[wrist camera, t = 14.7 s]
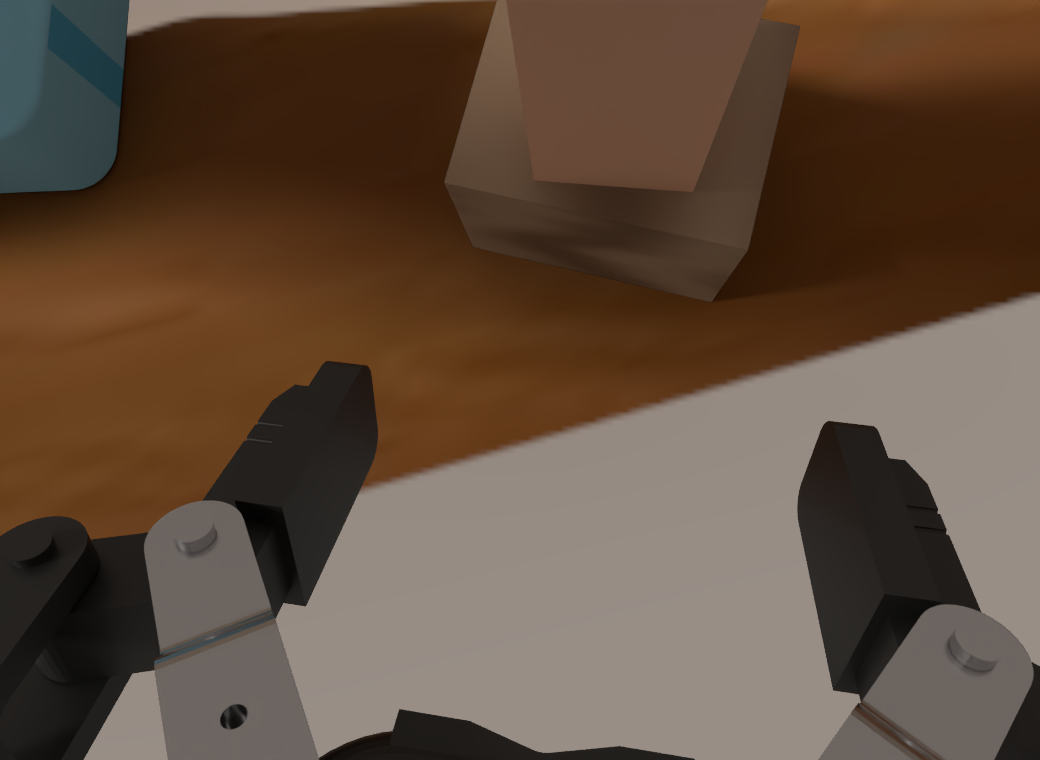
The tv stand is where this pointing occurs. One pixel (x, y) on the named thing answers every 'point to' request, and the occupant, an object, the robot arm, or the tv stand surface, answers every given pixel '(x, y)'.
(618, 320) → the tv stand surface
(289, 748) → the robot arm
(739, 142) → the grey brown block
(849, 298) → the tv stand surface
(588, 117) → the terracotta block
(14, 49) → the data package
